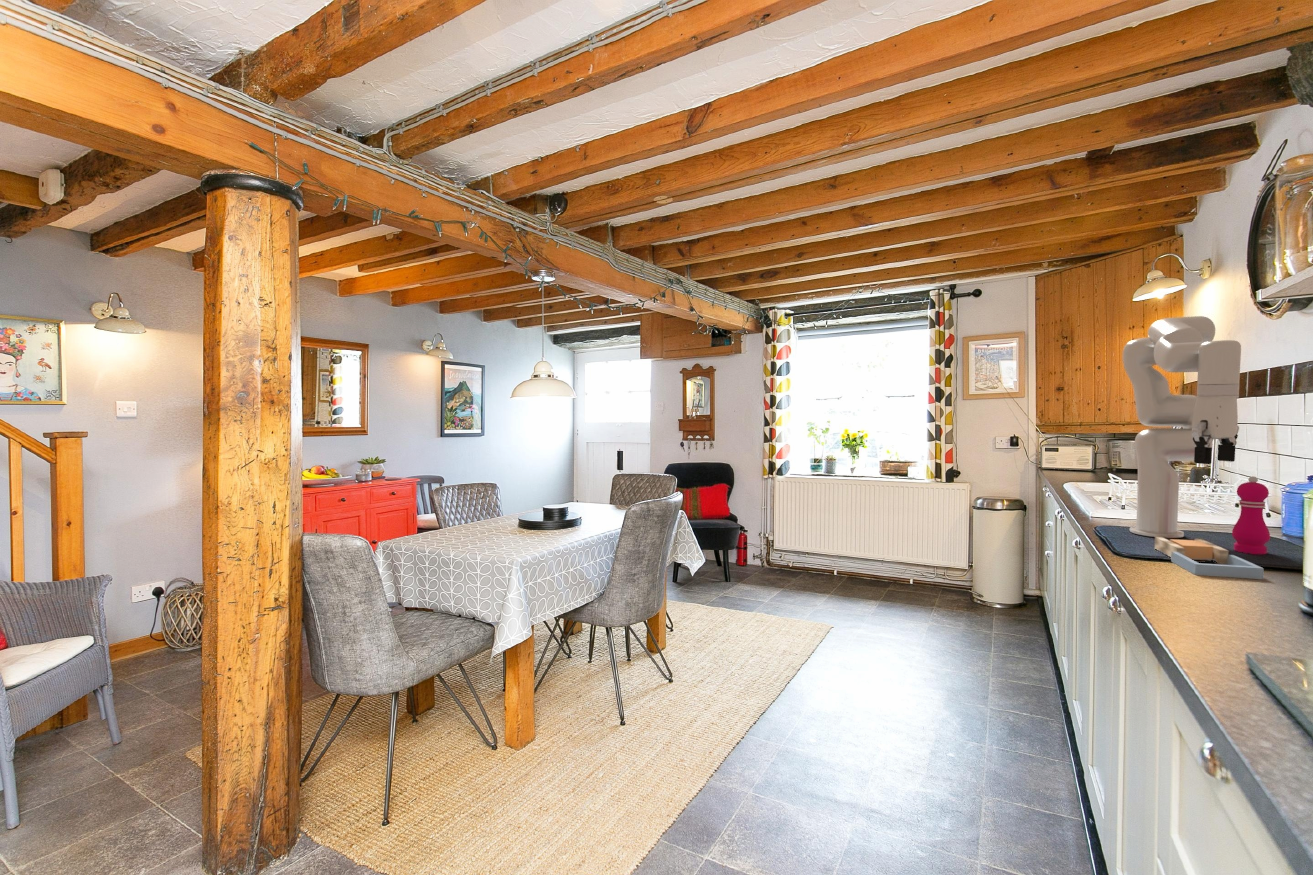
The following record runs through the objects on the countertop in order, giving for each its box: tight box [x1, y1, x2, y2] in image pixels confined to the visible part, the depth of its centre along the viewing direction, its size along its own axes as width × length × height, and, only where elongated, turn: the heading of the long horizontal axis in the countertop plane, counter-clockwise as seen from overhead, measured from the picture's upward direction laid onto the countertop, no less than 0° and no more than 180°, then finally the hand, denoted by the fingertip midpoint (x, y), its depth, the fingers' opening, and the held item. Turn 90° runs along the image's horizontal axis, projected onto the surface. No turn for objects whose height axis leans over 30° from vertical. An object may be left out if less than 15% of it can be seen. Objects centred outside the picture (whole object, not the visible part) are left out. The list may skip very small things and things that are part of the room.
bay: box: [1170, 552, 1265, 580], centre depth 145 cm, size 12×12×2 cm
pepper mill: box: [1231, 475, 1271, 555], centre depth 160 cm, size 7×7×20 cm
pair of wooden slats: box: [1154, 537, 1230, 565], centre depth 157 cm, size 13×10×4 cm
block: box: [1169, 538, 1213, 559], centre depth 156 cm, size 7×6×4 cm
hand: (1214, 462), depth 149 cm, fingers open, 9 cm apart
